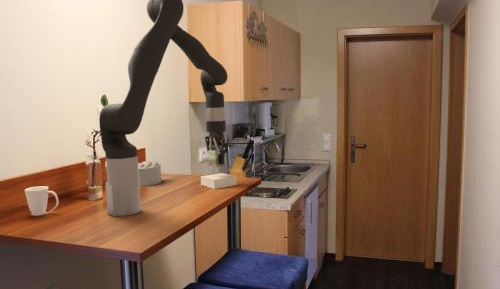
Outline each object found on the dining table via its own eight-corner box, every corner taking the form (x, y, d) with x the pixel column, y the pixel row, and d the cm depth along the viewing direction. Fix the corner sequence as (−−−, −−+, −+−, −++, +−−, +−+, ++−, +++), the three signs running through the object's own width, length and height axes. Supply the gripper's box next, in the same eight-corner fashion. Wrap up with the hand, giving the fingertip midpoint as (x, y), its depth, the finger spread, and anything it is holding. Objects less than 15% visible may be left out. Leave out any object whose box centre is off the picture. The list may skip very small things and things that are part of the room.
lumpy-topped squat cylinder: (163, 179, 191) (162, 159, 190) (155, 186, 178) (154, 164, 177) (139, 180, 192) (138, 160, 191) (129, 186, 179) (128, 165, 178)
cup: (34, 211, 144) (31, 186, 143) (64, 210, 143) (62, 185, 142) (21, 217, 137) (19, 191, 136) (53, 216, 136) (51, 190, 135)
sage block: (215, 167, 171) (215, 151, 170) (208, 165, 175) (208, 150, 174) (226, 165, 173) (226, 150, 173) (219, 164, 178) (219, 149, 177)
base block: (214, 189, 168) (214, 179, 168) (201, 185, 176) (200, 176, 176) (236, 185, 174) (236, 176, 173) (222, 181, 182) (222, 173, 181)
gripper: (197, 119, 176) (200, 162, 178) (217, 120, 164) (219, 166, 166) (214, 118, 180) (216, 160, 182) (234, 119, 168) (236, 164, 170)
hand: (217, 163), depth 174 cm, fingers closed on sage block, 5 cm apart
